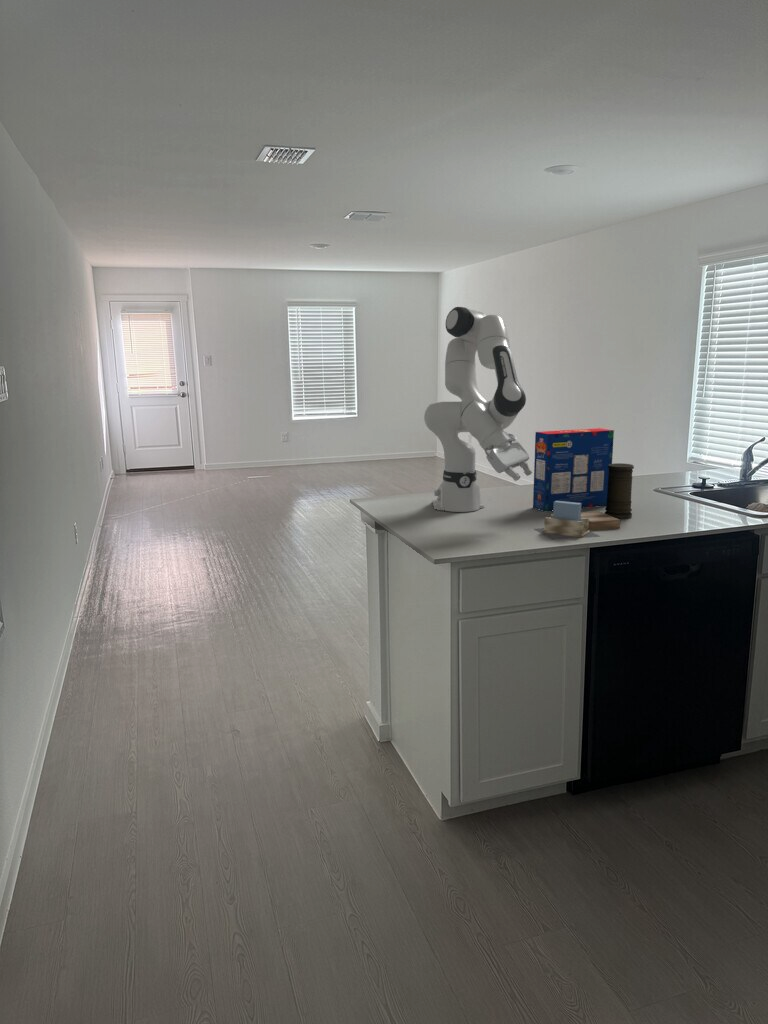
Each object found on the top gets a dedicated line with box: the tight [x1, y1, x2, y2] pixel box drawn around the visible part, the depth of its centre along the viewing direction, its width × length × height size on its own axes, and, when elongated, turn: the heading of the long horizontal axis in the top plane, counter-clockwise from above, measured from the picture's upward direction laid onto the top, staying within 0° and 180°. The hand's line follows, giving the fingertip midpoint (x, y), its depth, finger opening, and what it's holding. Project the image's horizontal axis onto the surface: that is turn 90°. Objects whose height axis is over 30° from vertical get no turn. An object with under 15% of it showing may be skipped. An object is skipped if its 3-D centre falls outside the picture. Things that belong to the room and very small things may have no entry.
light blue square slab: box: [552, 501, 582, 521], centre depth 220 cm, size 8×2×9 cm, turn 57°
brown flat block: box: [581, 510, 621, 531], centre depth 232 cm, size 14×10×3 cm
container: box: [604, 462, 635, 520], centre depth 242 cm, size 9×9×18 cm
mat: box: [533, 527, 600, 541], centre depth 221 cm, size 14×16×1 cm
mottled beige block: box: [542, 513, 591, 538], centre depth 221 cm, size 13×7×5 cm, turn 57°
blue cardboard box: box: [532, 427, 615, 512], centre depth 258 cm, size 28×8×28 cm, turn 111°
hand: (524, 476), depth 226 cm, fingers open, 8 cm apart
